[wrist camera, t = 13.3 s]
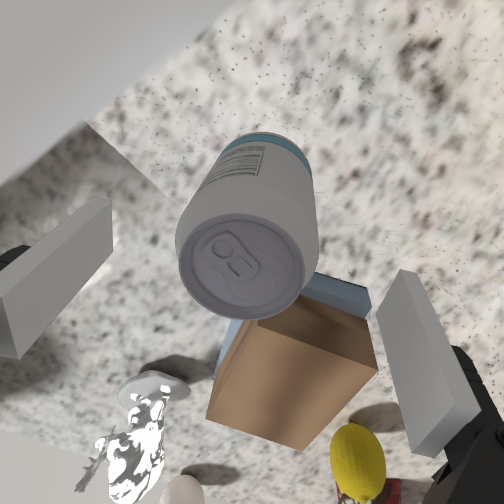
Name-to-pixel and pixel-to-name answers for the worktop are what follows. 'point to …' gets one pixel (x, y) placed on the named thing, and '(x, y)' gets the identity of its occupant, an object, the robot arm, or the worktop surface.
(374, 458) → the lemon
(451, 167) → the worktop surface
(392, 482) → the tiki totem
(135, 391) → the figurine
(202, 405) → the worktop surface
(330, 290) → the base brick
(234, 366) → the walnut brick
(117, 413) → the worktop surface
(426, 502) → the robot arm
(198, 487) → the egg
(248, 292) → the beverage can
